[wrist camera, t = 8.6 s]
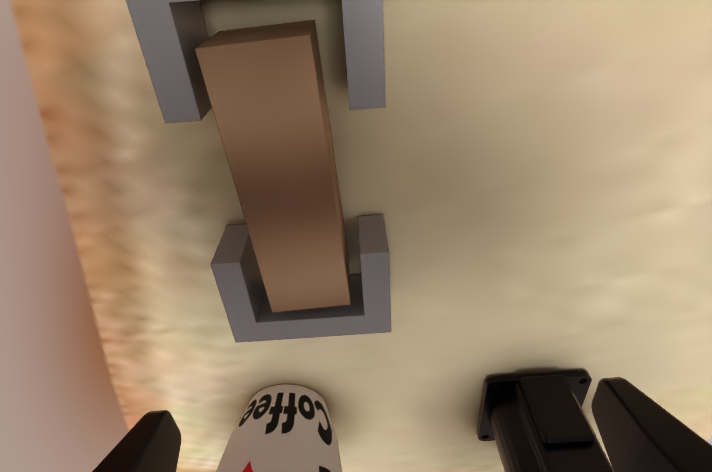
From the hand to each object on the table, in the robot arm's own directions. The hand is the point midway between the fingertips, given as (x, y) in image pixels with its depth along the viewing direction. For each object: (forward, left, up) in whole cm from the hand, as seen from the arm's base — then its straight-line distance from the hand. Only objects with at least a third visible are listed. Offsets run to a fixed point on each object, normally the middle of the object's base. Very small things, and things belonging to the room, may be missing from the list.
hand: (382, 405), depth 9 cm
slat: (0, +3, -12) cm, 12 cm away
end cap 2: (-5, +3, -12) cm, 13 cm away
